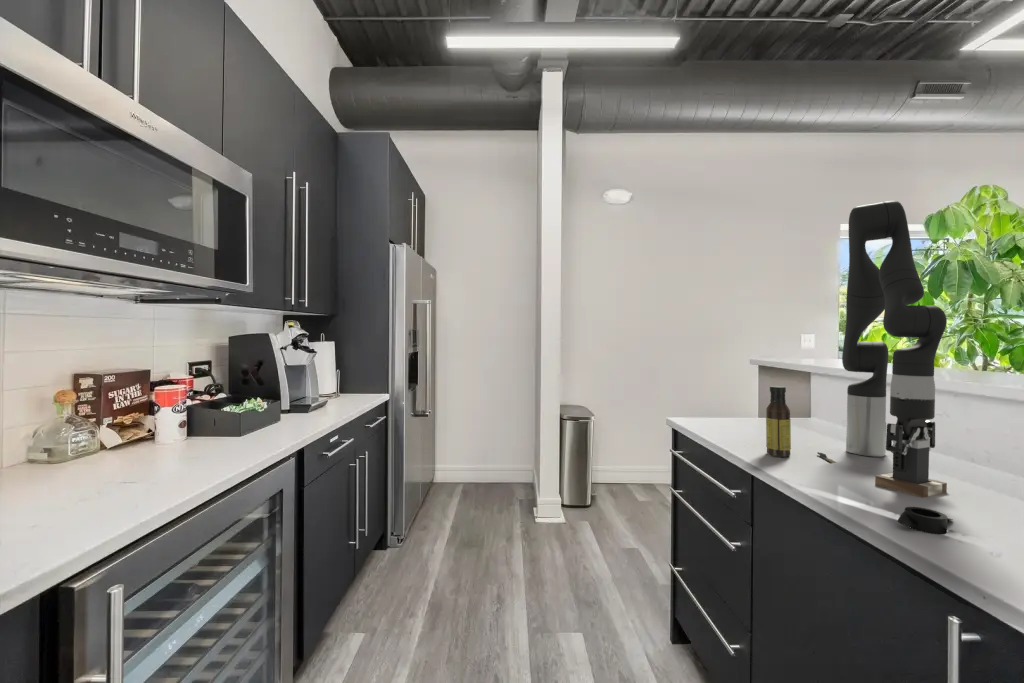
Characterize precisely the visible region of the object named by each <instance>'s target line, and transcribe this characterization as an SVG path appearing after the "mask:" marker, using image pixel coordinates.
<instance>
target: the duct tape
mask: <svg viewBox="0 0 1024 683" xmlns="http://www.w3.org/2000/svg"><path fill="white" fill-rule="evenodd" d="M948 520H949V521H954V519H953V518H950V517H948V516H947V515H946V514H945V513H944V512H941V511H937V510H934V509H929V508H925V507H918V506H907V507H904V511H903V512H902V513H901V514H900V516H898V518H897V520H896V522H898V523H899V524H901V525H903V526H905V527H907V528H910V527H911V528H910V529H912V528H913V530H915V529H916V530H915V531H919V532H921V531H922V532H921V533H926V534H930V535H931V534H933V535H945V534H947V533H948Z"/></svg>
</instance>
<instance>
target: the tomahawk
mask: <svg viewBox="0 0 1024 683" xmlns="http://www.w3.org/2000/svg"><path fill="white" fill-rule="evenodd" d="M816 453H817V454H818V456H820V458H821V459H822V460H823V461H826V462H828V464H835V463H836V464H837V462H836V461H835V460H833V459H831V458H828V456H827V454H825V453H822V452H816ZM817 454H816V455H817Z"/></svg>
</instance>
